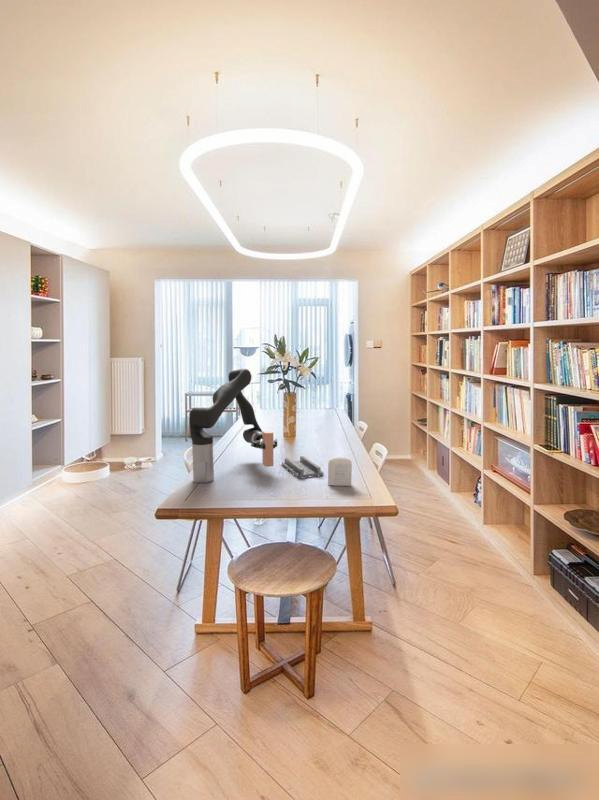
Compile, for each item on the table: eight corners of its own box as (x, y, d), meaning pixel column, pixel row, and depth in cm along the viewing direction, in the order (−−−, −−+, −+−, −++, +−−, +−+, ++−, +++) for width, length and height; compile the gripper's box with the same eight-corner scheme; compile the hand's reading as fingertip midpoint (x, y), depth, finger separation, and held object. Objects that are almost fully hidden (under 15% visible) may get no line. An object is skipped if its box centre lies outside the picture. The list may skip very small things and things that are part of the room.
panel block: (265, 466, 196) (265, 433, 194) (262, 464, 200) (262, 431, 199) (273, 466, 197) (273, 432, 195) (270, 463, 202) (270, 431, 200)
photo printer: (351, 483, 184) (351, 456, 183) (351, 486, 180) (351, 458, 178) (328, 483, 185) (328, 455, 184) (327, 486, 181) (327, 458, 179)
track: (323, 475, 196) (323, 467, 196) (297, 478, 192) (297, 470, 191) (305, 463, 219) (305, 455, 218) (281, 465, 214) (281, 457, 214)
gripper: (246, 433, 208) (254, 439, 192) (273, 431, 213) (283, 437, 197) (246, 448, 209) (254, 455, 193) (273, 446, 214) (283, 453, 198)
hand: (269, 446), depth 195 cm, fingers closed on panel block, 4 cm apart
